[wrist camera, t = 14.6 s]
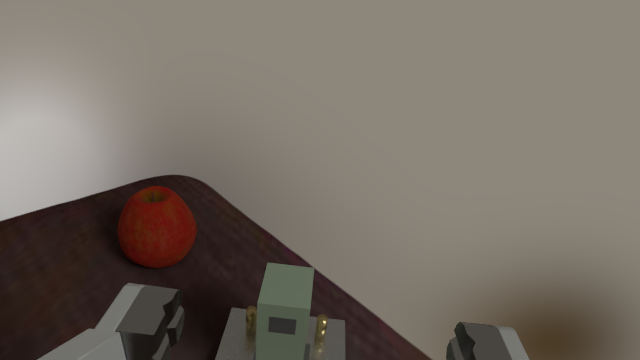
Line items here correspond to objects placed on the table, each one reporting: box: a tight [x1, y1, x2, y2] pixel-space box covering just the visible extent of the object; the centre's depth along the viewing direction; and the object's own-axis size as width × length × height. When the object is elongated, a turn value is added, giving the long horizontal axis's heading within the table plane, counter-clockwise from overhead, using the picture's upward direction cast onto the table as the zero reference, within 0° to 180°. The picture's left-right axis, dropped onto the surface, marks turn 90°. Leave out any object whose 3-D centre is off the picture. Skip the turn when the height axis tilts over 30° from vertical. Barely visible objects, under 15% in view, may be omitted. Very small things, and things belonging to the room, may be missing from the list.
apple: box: [117, 186, 197, 268], centre depth 53 cm, size 10×10×10 cm
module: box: [256, 263, 314, 360], centre depth 37 cm, size 4×5×12 cm
